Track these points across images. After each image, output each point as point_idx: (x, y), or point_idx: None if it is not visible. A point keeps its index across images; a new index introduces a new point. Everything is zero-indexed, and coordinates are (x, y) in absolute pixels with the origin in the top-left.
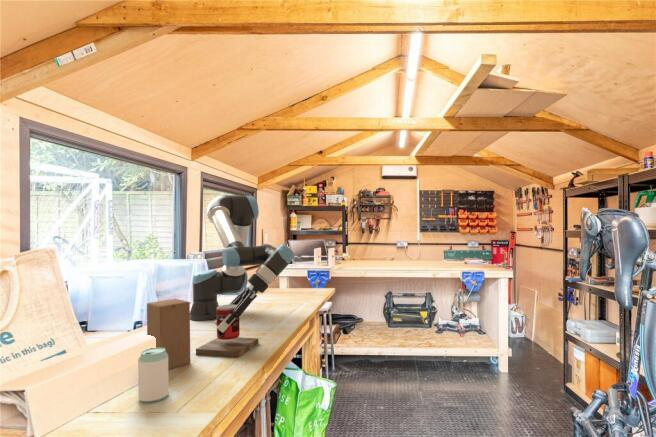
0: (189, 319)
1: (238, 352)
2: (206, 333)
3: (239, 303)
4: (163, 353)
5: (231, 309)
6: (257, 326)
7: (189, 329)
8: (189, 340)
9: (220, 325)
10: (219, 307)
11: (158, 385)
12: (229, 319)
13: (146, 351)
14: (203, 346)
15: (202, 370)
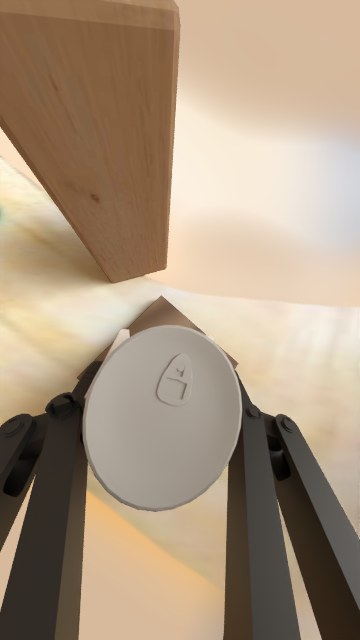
0: (42, 184)
1: None
2: (306, 342)
3: (12, 564)
4: None
5: (87, 418)
6: (338, 489)
7: (70, 224)
8: (89, 251)
9: (115, 340)
10: (188, 345)
11: None
12: (82, 381)
13: None
14: (170, 312)
15: (54, 295)
